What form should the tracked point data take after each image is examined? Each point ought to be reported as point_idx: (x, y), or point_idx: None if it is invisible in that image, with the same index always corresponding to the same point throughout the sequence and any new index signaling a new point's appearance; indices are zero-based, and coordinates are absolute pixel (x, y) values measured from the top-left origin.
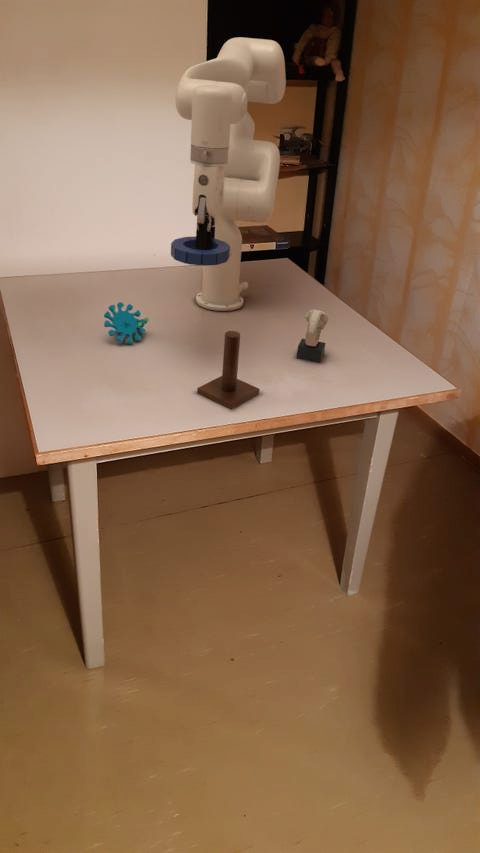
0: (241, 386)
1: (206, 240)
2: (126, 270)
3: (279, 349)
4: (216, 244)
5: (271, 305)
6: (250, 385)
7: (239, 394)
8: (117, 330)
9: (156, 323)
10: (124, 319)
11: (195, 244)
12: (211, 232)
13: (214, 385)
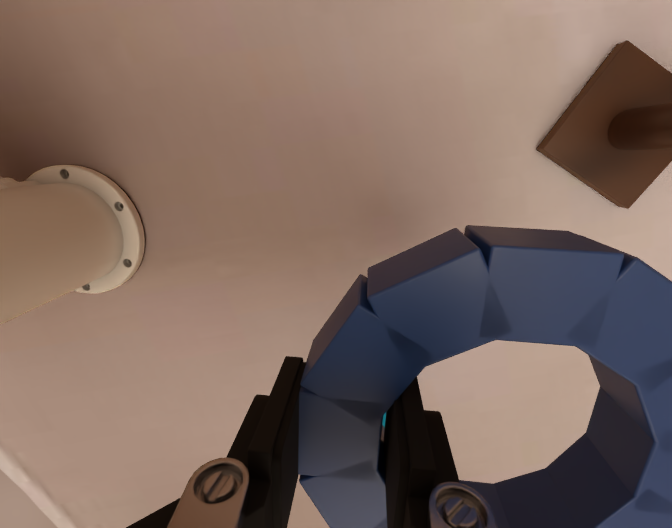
0: (615, 95)
1: (446, 440)
2: (14, 456)
3: (326, 14)
4: (452, 355)
5: (28, 77)
6: (609, 70)
7: (663, 95)
8: None
9: (270, 351)
10: None
11: None
12: (432, 462)
13: (613, 169)
